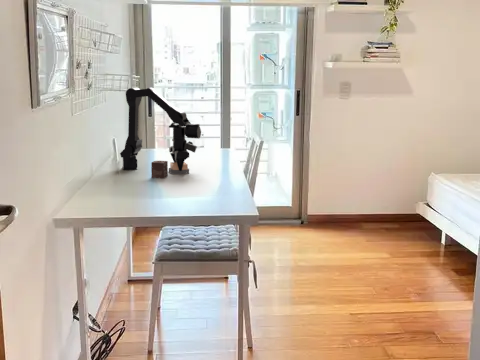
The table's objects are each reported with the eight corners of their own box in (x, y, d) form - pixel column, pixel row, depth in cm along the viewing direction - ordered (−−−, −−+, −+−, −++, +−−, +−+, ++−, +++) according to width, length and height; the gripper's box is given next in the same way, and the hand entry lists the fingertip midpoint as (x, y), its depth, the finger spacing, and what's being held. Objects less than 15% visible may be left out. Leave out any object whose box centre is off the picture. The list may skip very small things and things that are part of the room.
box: (163, 178, 247) (163, 163, 246) (151, 178, 248) (151, 162, 247) (167, 176, 253) (168, 160, 252) (155, 175, 254) (155, 160, 253)
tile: (173, 170, 258) (173, 164, 257) (170, 167, 264) (170, 162, 264) (187, 169, 260) (187, 164, 259) (184, 167, 266) (184, 162, 266)
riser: (170, 173, 259) (170, 169, 258) (168, 171, 263) (168, 167, 263) (189, 173, 262) (189, 169, 261) (186, 171, 266) (186, 167, 266)
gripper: (200, 139, 253) (199, 172, 256) (190, 134, 270) (190, 165, 273) (176, 140, 249) (176, 173, 253) (168, 135, 267) (168, 166, 270)
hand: (178, 169), depth 262 cm, fingers closed on tile, 7 cm apart
